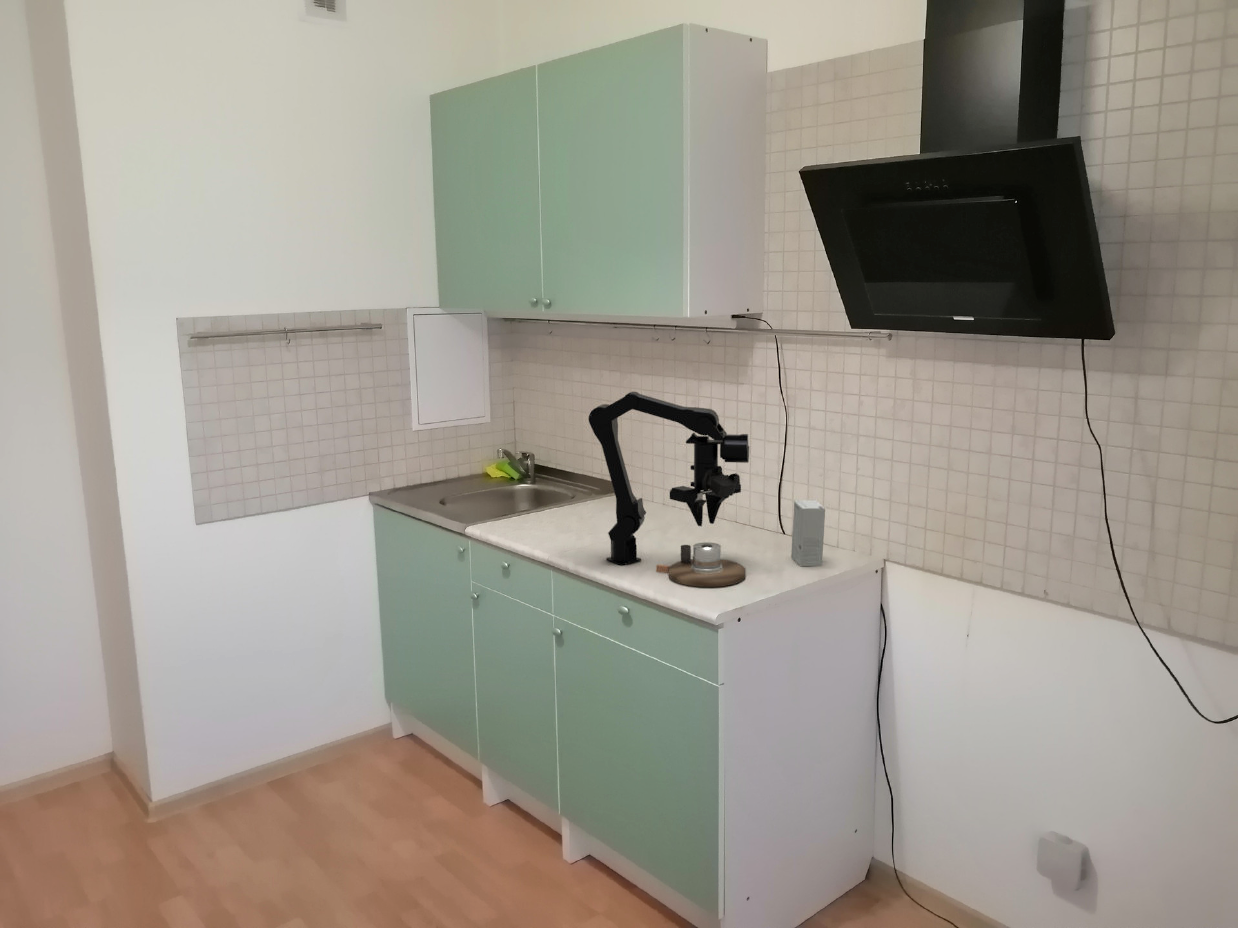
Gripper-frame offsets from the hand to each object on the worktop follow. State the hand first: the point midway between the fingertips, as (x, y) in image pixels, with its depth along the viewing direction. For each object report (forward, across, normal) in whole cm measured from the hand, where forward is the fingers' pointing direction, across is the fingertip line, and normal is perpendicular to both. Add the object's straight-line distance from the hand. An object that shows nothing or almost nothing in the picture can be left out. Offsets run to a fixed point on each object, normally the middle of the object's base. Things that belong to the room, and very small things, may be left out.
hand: (705, 524), depth 238 cm
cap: (+8, -6, -8) cm, 13 cm away
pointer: (+10, -12, +2) cm, 16 cm away
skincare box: (+10, +20, -14) cm, 27 cm away
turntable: (+10, -6, -8) cm, 14 cm away
